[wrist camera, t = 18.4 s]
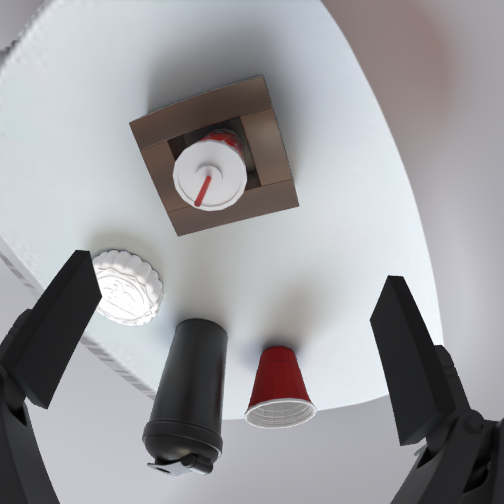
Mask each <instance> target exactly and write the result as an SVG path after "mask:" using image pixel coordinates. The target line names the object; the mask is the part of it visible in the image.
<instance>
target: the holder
mask: <svg viewBox="0 0 504 504" xmlns="http://www.w3.org/2000/svg"><path fill="white" fill-rule="evenodd" d="M239 116H240V119H241V123H242V126H243V129H244V132H245V135H246V138H247V141H248V144H249V148H250V151H251V154H252V157H253V160H254V163H255V167H256V170H257V171H254V172H250V173H247V182H246V185H245V189H244V192H243V194H242V195H241V196H240V198H239V199H238V200H237V201H236V202H235V203H234V204H233V205H231V206H228V207H226V208H224V209H222V210H214V211H206V210H202V209H198V208H195V207H193V206H192V205H190V204H189V203H187V202H186V201H184V200H183V198H182V197H181V196H180V194H179V193H178V191H177V190H176V188H175V184H174V179H173V171H174V166H175V162H176V160H177V159H178V158H179V156H180V155H181V153H182V152H183V151H184V150H185V149H186V148H187V146H186V144H185V141H184V138H183V136H182V135H183V134H186V133H189V132H192V131H195V130H198V129H201V128H204V127H207V126H210V125H213V124H216V123H219V122H223V121H226V120H229V119H233V118H236V117H239ZM129 125H130V127H131V130H132V132H133V135H134V137H135V139H136V142H137V144H138V147H139V149H140V150H141V151H140V152H141V154H142V157H143V159H144V162H145V164H146V166H147V169H148V171H149V173H150V176H151V178H152V180H153V182H154V185H155V187H156V189H157V192H158V194H159V196H160V198H161V201H162V203H163V205H164V207H165V209H166V212H167V214H168V216H169V218H170V220H171V222H172V225H173V227H174V229H175V231H176V233H177V235H178V236H182V235H185V234H189V233H193V232H197V231H201V230H205V229H208V228H212V227H216V226H220V225H224V224H228V223H232V222H236V221H240V220H244V219H248V218H252V217H256V216H260V215H264V214H269V213H273V212H277V211H281V210H285V209H290V208H294V207H298V206H299V203H298V198H297V194H296V190H295V185H294V182H293V178H292V174H291V170H290V166H289V163H288V159H287V155H286V151H285V148H284V144H283V140H282V137H281V133H280V130H279V126H278V123H277V119H276V116H275V112H274V109H273V106H272V102H271V99H270V96H269V92H268V89H267V86H266V82H265V79H264V76H263V75H260V76H256V77H252V78H249V79H245V80H242V81H238V82H235V83H231V84H228V85H225V86H222V87H218V88H215V89H212V90H209V91H206V92H203V93H200V94H197V95H195V96H192V97H189V98H186V99H183V100H181V101H178V102H175V103H173V104H170V105H168V106H165V107H163V108H160V109H158V110H155V111H153V112H150V113H148V114H146V115H144V116H142V117H140V118H138V119H136V120H134V121H132V122H130V123H129Z"/></svg>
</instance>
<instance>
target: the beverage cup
mask: <svg viewBox="0 0 504 504" xmlns="http://www.w3.org/2000/svg"><path fill="white" fill-rule="evenodd" d="M173 179H174V184H175V188H176V190H177V191H178V193H179V194H180V196H181V197H182V198H183V200H184V201H186V202H187V203H189V204H190V205H192V206H193V207H195V208H198V209H202V210H206V211H214V210H222V209H224V208H226V207H228V206H231V205H233V204H234V203H235V202H236V201H237V200H238V199H239V198H240V196H241V195H242V194H243V192H244V189H245V185H246V182H247V173H246V165H245V162H244V147H243V142H242V140H241V138H240V137H239V135H238V134H236V133H235V132H234V131H232V130H229V129H225V128H221V129H215V130H213V131H211V132H210V133H208V134H207V135H206V136H204V137H203V138H202V139H201V140H200V141H198V142H196V143H194V144H193V145H191V146H189V147H187V148H186V149H185V150H184V151H183V152H182V153H181V155H180V156H179V158H178V159H177V160H176V162H175V166H174V171H173Z"/></svg>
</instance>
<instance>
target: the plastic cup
mask: <svg viewBox="0 0 504 504" xmlns="http://www.w3.org/2000/svg"><path fill="white" fill-rule="evenodd" d="M316 411H317V409H316V407H315V406H314V405H313V403H311V400H310V399H309V396H308V394H307V391H306V388H305V384H304V381H303V378H302V374H301V371H300V369H299V366H298V363H297V359H296V356H295V354H294V352H293V351H292V350H291V349H289V348H286V347H282V346H278V347H271V348H268V349H267V350H265V351H264V352H263V353H262V355H261V357H260V362H259V366H258V369H257V373H256V377H255V382H254V386H253V391H252V396H251V398H250V403H249V406H248V409H247V411H246V412H245V414H244V417H245V421H246V422H248V423H249V424H251V425H253V426H257V427H261V428H286V427H290V426H295V425H299V424H301V423H303V422H306V421H308V420H309V419H311V418H312V417H313V416H315V414H316Z"/></svg>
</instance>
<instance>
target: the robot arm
mask: <svg viewBox="0 0 504 504" xmlns="http://www.w3.org/2000/svg"><path fill="white" fill-rule="evenodd" d="M101 299H102V294H101V291H100V287H99V284H98V280H97V277H96V273H95V270H94V266H93V263H92V259H91V255H90V251H84V250H75V252H74V253H73V254H72V256H71V257H70V258H69V259H68V261H67V262H66V263H65V264H64V266H63V267H62V268H61V270H60V271H59V272H58V274H57V275H56V276H55V278H54V279H53V280H52V282H51V283H50V284H49V286H48V287H47V289H46V290H45V291H44V293H43V294H42V296H41V297H40V299H39V300H38V301H37V303H36V304H35V306H34V307H33V309H27V310H25V311H24V312H23V313H22V314H21V315H20V316H19V317H18V318H17V320H16V321H15V323H14V324H13V327H11V329H10V330H9V332H8V335H6V337H5V338H4V340H3V341H2V343H1V345H0V504H60V503H59V500H58V498H57V496H56V494H55V491H54V489H53V486H52V484H51V481H50V479H49V476H48V474H47V471H46V468H45V466H44V463H43V460H42V457H41V454H40V451H39V448H38V445H37V442H36V438H35V435H34V432H33V428H32V425H31V421H30V417H29V413H28V409H27V406H26V404H25V402H24V400H25V398H26V396H27V397H28V399H30V401H31V402H32V403H33V404H34V405H37V406H39V407H42V408H44V409H48V407H49V404H50V402H51V400H52V397H53V395H54V393H55V390H56V388H57V386H58V384H59V382H60V379H61V377H62V375H63V373H64V371H65V369H66V366H67V364H68V362H69V360H70V358H71V356H72V354H73V352H74V350H75V348H76V346H77V344H78V342H79V340H80V338H81V336H82V334H83V332H84V330H85V328H86V326H87V325H88V323H89V321H90V319H91V317H92V315H93V313H94V311H95V310H96V308H97V306H98V304H99V302H100V301H101ZM370 323H371V326H372V330H373V333H374V337H375V340H376V344H377V347H378V351H379V355H380V358H381V362H382V366H383V370H384V374H385V378H386V382H387V386H388V390H389V395H390V399H391V403H392V408H393V412H394V417H395V421H396V426H397V431H398V436H399V441H400V446H404V445H410V444H416V443H418V442H420V441H421V440H422V439H423V438H424V437H426V441H427V444H425V445H424V446H423V447H422V448H420V449H419V450H418V451H417V452H416V453H415V454H414V455H415V456H417V455H418V454H419V453H420V455H419V457H418V458H417V460H416V462H415V464H414V466H413V467H412V469H411V471H410V473H409V474H408V476H407V478H406V479H405V481H404V483H403V484H402V486H401V488H400V489H399V491H398V492H397V494H396V496H395V497H394V499H393V500H392V502H391V503H390V504H504V418H503V419H502V420H501V421H500V422H498V421H490V420H484V418H483V417H482V415H481V414H480V413H479V412H477V411H475V410H472V409H471V408H470V406H469V403H468V400H467V397H466V395H465V392H464V389H463V386H462V384H461V381H460V378H459V376H458V373H457V371H456V368H454V363H453V361H452V358H451V356H450V354H449V353H448V352H447V350H446V349H445V348H444V347H443V346H442V345H434V344H433V342H432V339H431V337H430V335H429V332H428V330H427V327H426V325H425V323H424V321H423V318H422V316H421V314H420V311H419V309H418V307H417V305H416V303H415V301H414V298H413V296H412V294H411V292H410V290H409V288H408V286H407V284H406V282H405V280H404V277H403V276H390V275H388V277H387V279H386V282H385V284H384V287H383V289H382V292H381V294H380V297H379V299H378V302H377V304H376V307H375V309H374V311H373V314H372V316H371V318H370Z"/></svg>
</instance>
